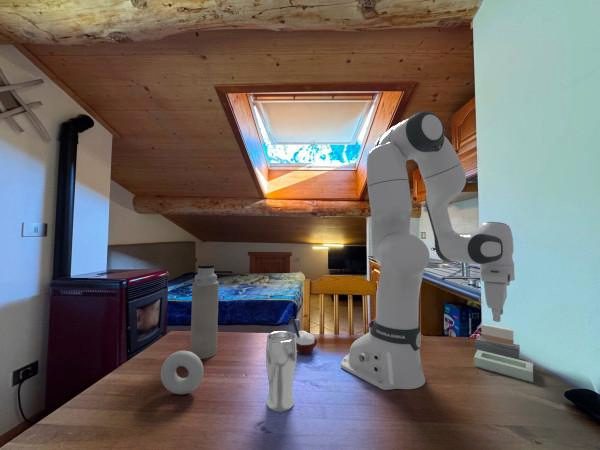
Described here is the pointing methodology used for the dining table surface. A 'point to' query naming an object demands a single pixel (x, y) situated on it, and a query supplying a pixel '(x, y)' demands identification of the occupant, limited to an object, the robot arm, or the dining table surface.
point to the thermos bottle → (204, 312)
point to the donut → (178, 383)
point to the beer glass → (280, 369)
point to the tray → (504, 365)
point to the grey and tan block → (497, 348)
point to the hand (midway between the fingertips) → (498, 317)
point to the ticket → (497, 335)
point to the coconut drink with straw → (304, 340)
